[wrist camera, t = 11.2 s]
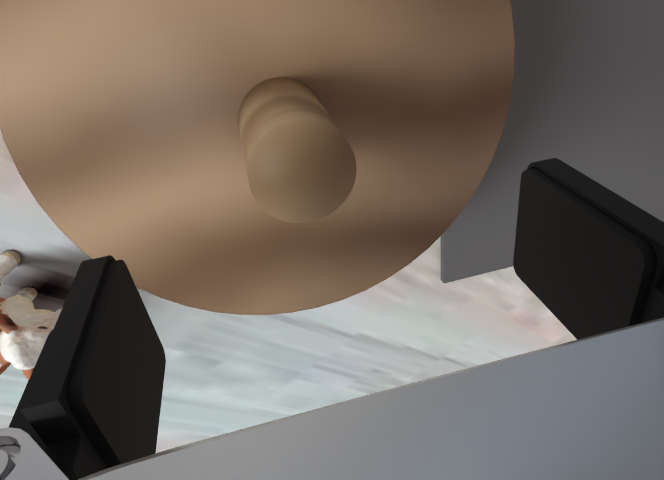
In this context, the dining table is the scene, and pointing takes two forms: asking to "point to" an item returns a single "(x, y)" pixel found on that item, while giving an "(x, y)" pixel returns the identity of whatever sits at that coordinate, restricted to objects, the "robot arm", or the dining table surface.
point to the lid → (254, 136)
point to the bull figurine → (22, 323)
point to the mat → (570, 118)
